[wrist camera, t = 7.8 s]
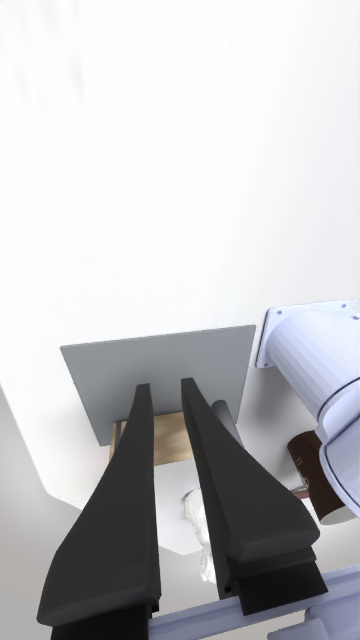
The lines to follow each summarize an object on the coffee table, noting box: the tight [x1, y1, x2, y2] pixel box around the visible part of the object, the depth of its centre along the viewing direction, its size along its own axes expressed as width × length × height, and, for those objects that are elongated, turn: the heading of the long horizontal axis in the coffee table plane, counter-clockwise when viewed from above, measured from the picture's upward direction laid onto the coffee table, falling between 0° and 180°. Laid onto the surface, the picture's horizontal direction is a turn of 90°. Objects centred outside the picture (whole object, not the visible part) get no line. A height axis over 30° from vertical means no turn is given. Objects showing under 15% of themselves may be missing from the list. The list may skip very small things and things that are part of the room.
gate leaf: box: [109, 412, 194, 466], centre depth 25 cm, size 12×1×5 cm, turn 92°
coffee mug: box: [288, 430, 357, 525], centre depth 34 cm, size 12×9×10 cm
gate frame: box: [60, 325, 256, 448], centre depth 23 cm, size 19×17×7 cm
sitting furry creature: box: [184, 488, 217, 584], centre depth 39 cm, size 10×9×12 cm
